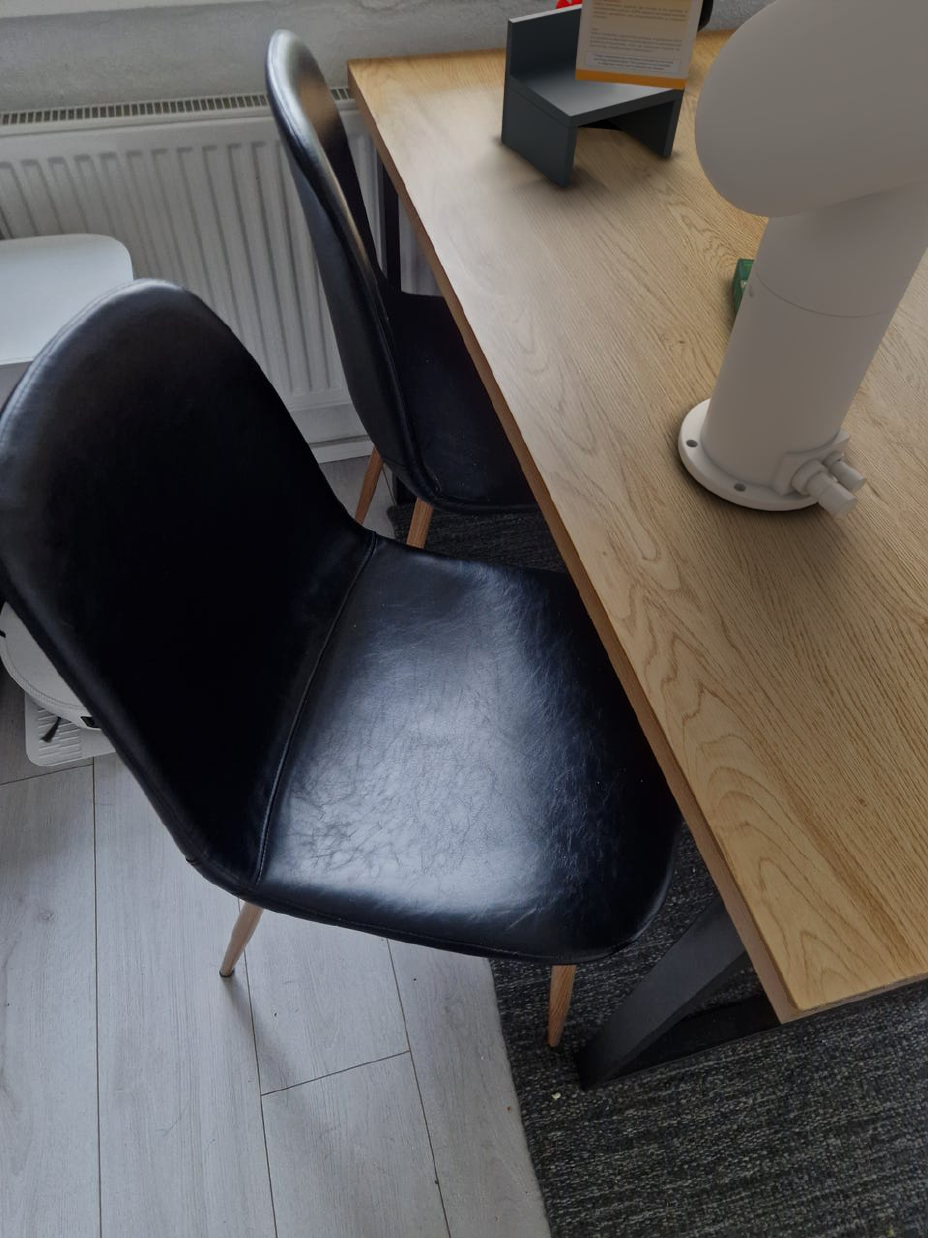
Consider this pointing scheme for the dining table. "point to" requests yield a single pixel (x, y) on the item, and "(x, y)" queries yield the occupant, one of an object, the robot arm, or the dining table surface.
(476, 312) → the dining table surface
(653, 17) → the supplement box
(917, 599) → the dining table surface
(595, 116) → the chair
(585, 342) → the dining table surface
